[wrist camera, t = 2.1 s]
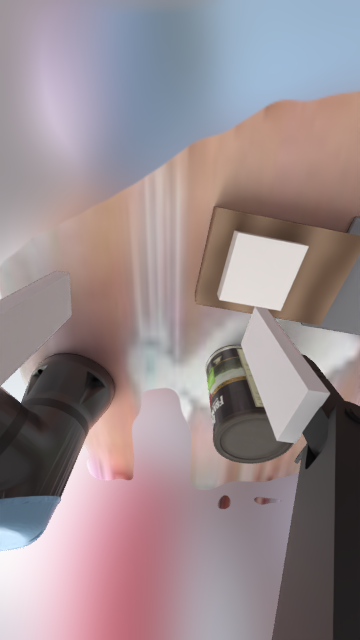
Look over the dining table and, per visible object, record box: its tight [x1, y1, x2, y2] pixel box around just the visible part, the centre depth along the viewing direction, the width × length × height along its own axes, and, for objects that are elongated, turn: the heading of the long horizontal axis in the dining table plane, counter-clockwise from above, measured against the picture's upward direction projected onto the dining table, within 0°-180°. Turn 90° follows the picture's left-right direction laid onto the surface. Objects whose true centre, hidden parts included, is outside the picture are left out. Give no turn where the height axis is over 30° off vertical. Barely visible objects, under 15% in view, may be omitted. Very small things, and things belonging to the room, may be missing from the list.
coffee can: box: [206, 345, 294, 464], centre depth 34 cm, size 10×10×14 cm
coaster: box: [217, 230, 309, 311], centre depth 27 cm, size 8×8×2 cm
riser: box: [195, 207, 360, 325], centre depth 30 cm, size 18×12×4 cm, turn 80°
